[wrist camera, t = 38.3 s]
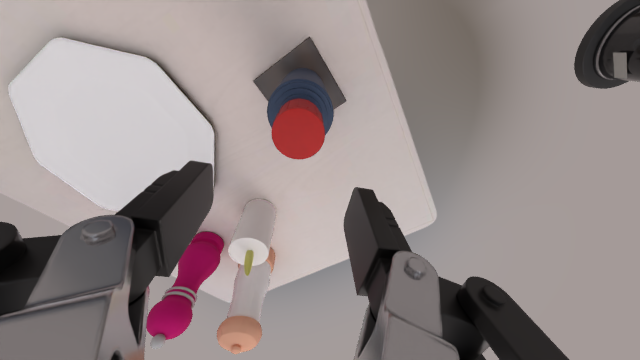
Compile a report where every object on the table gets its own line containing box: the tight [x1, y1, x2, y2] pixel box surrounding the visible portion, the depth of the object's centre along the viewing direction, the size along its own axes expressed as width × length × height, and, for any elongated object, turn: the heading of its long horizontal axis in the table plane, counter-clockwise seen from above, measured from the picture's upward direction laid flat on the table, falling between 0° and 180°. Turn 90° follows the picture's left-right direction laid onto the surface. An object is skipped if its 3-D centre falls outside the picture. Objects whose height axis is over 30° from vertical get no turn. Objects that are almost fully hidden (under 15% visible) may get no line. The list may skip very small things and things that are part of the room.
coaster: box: [254, 37, 346, 110], centre depth 35 cm, size 10×10×1 cm
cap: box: [272, 98, 325, 159], centre depth 19 cm, size 4×4×4 cm
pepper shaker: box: [217, 247, 275, 354], centre depth 43 cm, size 7×7×19 cm
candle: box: [228, 199, 276, 276], centre depth 39 cm, size 6×6×15 cm
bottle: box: [267, 68, 334, 135], centre depth 26 cm, size 6×6×20 cm
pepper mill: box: [146, 232, 224, 349], centre depth 40 cm, size 7×7×20 cm
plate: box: [8, 37, 215, 211], centre depth 37 cm, size 28×28×2 cm
